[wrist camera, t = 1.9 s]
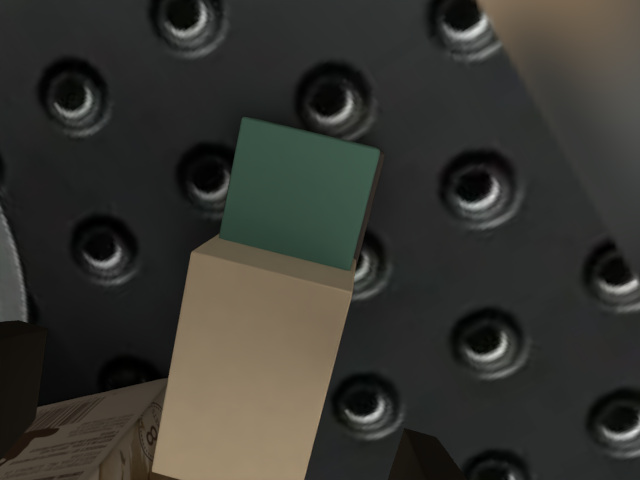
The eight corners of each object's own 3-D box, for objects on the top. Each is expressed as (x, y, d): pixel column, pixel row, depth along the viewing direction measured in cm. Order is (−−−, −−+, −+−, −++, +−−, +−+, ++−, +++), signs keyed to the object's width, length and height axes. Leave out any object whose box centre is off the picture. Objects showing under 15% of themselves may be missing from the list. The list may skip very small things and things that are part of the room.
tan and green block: (307, 451, 18) (287, 552, 14) (196, 421, 19) (141, 511, 14) (385, 148, 16) (390, 154, 12) (257, 118, 16) (213, 111, 12)
